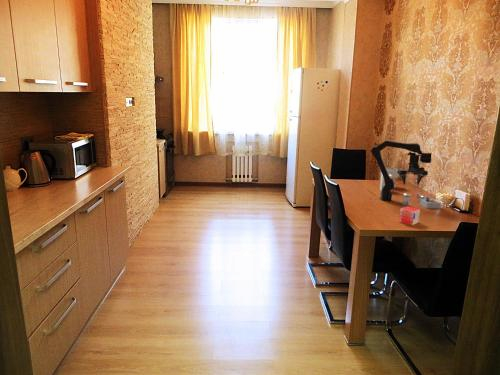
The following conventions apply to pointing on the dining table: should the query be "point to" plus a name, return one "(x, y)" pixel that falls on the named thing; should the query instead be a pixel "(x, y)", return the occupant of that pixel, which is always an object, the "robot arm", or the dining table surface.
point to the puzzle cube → (409, 215)
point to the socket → (430, 203)
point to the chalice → (392, 172)
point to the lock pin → (420, 195)
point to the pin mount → (422, 198)
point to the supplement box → (383, 181)
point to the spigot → (406, 199)
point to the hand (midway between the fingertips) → (410, 184)
